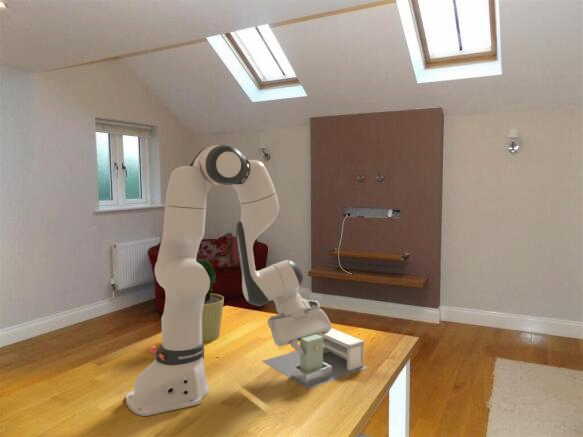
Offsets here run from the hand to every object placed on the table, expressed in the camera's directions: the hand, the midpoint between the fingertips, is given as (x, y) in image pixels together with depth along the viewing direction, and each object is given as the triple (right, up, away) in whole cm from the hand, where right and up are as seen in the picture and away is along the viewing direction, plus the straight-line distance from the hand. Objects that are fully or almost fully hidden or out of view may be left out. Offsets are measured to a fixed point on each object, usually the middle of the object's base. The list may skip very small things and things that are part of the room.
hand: (312, 351), depth 137 cm
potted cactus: (-40, -5, +37) cm, 54 cm away
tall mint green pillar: (0, -6, +1) cm, 6 cm away
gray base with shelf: (+1, -8, +10) cm, 13 cm away
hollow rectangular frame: (0, -8, +1) cm, 8 cm away
